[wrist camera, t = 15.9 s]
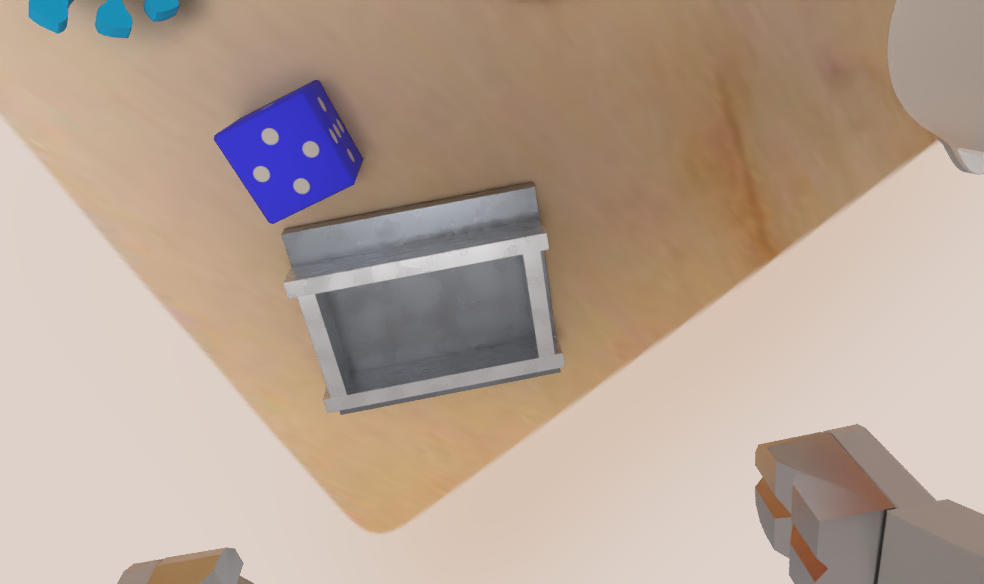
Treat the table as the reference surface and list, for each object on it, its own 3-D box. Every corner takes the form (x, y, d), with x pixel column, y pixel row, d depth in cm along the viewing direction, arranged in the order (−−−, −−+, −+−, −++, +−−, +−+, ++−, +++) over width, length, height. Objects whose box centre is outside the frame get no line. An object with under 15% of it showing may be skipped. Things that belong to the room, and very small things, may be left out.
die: (318, 78, 34) (302, 90, 30) (364, 160, 36) (356, 183, 32) (238, 119, 35) (211, 137, 30) (288, 198, 37) (269, 226, 32)
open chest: (532, 182, 38) (542, 199, 35) (557, 364, 43) (568, 393, 40) (284, 229, 37) (271, 250, 34) (342, 406, 43) (336, 438, 40)
